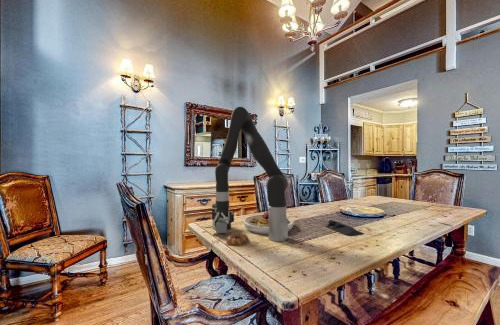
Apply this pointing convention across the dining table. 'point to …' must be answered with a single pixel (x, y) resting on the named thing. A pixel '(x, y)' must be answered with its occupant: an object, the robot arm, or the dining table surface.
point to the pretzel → (237, 239)
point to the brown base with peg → (222, 234)
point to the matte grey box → (221, 227)
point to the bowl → (262, 223)
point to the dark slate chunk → (343, 228)
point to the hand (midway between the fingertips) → (222, 228)
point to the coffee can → (218, 219)
